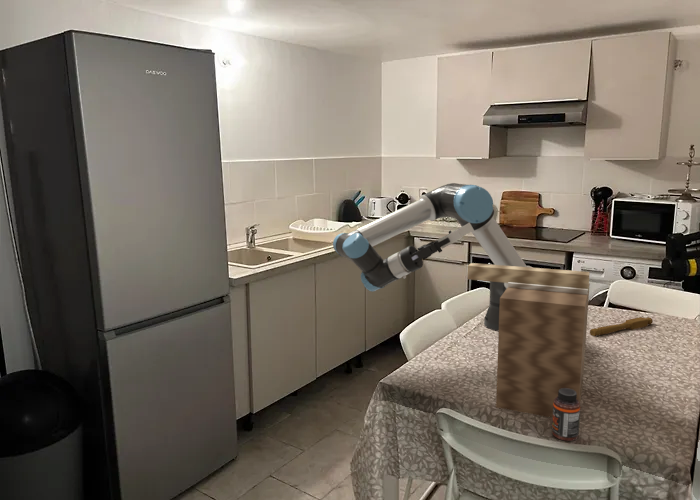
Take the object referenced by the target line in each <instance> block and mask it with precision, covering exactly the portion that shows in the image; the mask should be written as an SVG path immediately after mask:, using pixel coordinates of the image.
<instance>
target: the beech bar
mask: <svg viewBox="0 0 700 500" xmlns="http://www.w3.org/2000/svg"><path fill="white" fill-rule="evenodd" d="M531 267H532V266H531ZM531 267H518V266H504V265H495V264H492V263H491V264H489V263H476V262H475V263H474V262H471V263H469V264H468V265H467V280H471V281H484V282H490V281H492V282H504V283H508V282H513V283H525V284H536V285H547V286H558V287H570V288H581V289H588V287H589V288H590V286H589V283H590V271H583V270H582V271H579V270H569V269H567V270H566V269H556V268H554V269H553V268H552V269H551V268H545V267H544V268H542V267H541V268H540V267H533V268H531Z"/></svg>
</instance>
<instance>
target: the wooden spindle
mask: <svg viewBox="0 0 700 500" xmlns="http://www.w3.org/2000/svg"><path fill="white" fill-rule="evenodd" d="M653 322H654V320H653V319H652V317H649V316H648V317H640V316H639V317H634V318H630V319H629V318H628V319H626V320H625V321H624V322H622V323H617V324H612V325H604V326H601V327H600V326H599V327H597V328H596V327H594V328H591V329H590V330H589V334H590V335H591V337H599V336H602V335H607V334H611V333H615V332H618V331H622V330H632V331H633V330H637V329H642V328H646V327H648V326H649V325H653Z"/></svg>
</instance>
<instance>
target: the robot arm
mask: <svg viewBox="0 0 700 500" xmlns="http://www.w3.org/2000/svg"><path fill="white" fill-rule="evenodd" d="M493 205H494V200H493V197H492V194H491V193H490V191H488V190H487V189H486V188H484V187H482V186H479V185H475V184H465V183H455V182H452V183H447V184H444V185H441V186H438V187H437V188H434V189H433V190H430V191H429V192H426V193H424V194H422V195H420V196H419V198H418V200H416V201H413V202H412V203H410V204H408V205H406V206H403V207H401V208H399V209H397V210H394V211H393V212H391V213H389V214H387V215H385V216H382V217H380V218H378V219H376V220H374V221H372V222H370V223H368V224H366V225H363V226H361V227H359V228H357V229H355V230H352V231H350V232H342V233H339V234H337V235H336V236H335V237H334V239H333V241H332V242H333V243H332V246H333V250H334V251H335V252H336V253H337V254H338V255H339V256H340V257H341V258H345V259H346V260H348V261H351V262H352V263H353V264H354V265H355V266H357V267H358V269H359V270H360V271H361V273H360V280H361V283H362V284H363V286H364V288H366V290H368V291H369V292H376V291H377V290H380V289H383V288H385V287H387V286H388V285H390V284H392V283H393V282H396V281H398V280H400V279H402V278H403V279H406V278H407V275H409V274H411V273H414V272H415V271H417V270H419V269H420V270H421V268H422V267H423V265H424V263H423V261H424V260H426V259H428V258H430V257H431V256H432V255H434V254H435V253H437V252H438V254H440V253H441V252H443V249H444V248H447V247H449V246H450V245H452V244H454V243H456V242H458V241H459V240H461V239H463V237H464V236H466V235H469V234H470V233H471V234H472V235H473V236H474V238H475V240H476V241H477V242H478V243H479V245H480V246H481V248H482V249H483V250H484V252H485V254H487V256H488V257H489V259H490V260H491V261H492V263H493V265H504V266H518V267H531V268H534V267H532V266H530V265H526V263H525V261H524V260H523V259H522V257H521V256H520V255H519V252H518V251H517V250H516V249H515V247H514V246H513V243H512V242H511V241H510V239H509V238H508V236H507V235H506V234H505V233H504V231H503V230H502V228H501V226H500V224H499V223H498V222H497V221H496V219H495V218H494V216H495V213H496V212H495V209H494V207H493ZM441 218H442V219H443V218H451V219H455V220H456V221H457V223H458V224H459V225H460V226H461V227H459V228H457V229H455V230H453V231H451V230H449V231H448V234H447V235H444V236H442V237H441V238H438V239H437V240H436V241H430V242H428V243H427V244H423V245H421V246H419V247H418V248H416V247H415V246H413V245H408V246H406V247H404V248H403V249H401V250H400V251H398V252H395V253H393V254H391V255H390V256H388V257H387V258H382V256H381V255H380V254H379V253H378V252H377V250H376V249H375V248H374V246H377V245H379V244H381V243H384V242H386V241H387V240H389V239H391V238H393V237H394V238H395V237H396V236H398V235H400V234H402V233H404V232H406V231H408V230H411V229H413V228H415V227H417V226H419V225H421V224H423V223H425V222H427V221H431V222H434V221H435V220H438V219H441ZM507 288H508V283H504V282H492V281H489V306H488V308H487V311H486V313H485V315H484V319H483V325H484V326H485V328H488V329H490V330H492V331H497V332H499V307H500V297H501V296H502V294H503V293H504V292H505V290H506V289H507Z"/></svg>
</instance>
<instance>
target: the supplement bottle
mask: <svg viewBox="0 0 700 500" xmlns="http://www.w3.org/2000/svg"><path fill="white" fill-rule="evenodd" d="M576 398H577V393H576V391H574V390H572V389H569V388H561V389H559V392H558V396H557V397H556V398H555V399H554V402H553V418H552V422H551V433H552V436H554V437H555V438H556V439H559V440H562V441H565V442H567V441H568V442H569V441H570V442H572V441H575V440H577V439H578V437H579V433H580V432H579V431H580V418H581V417H580V416H581V401H580V402H579V401H578V400H577V399H576Z"/></svg>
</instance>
